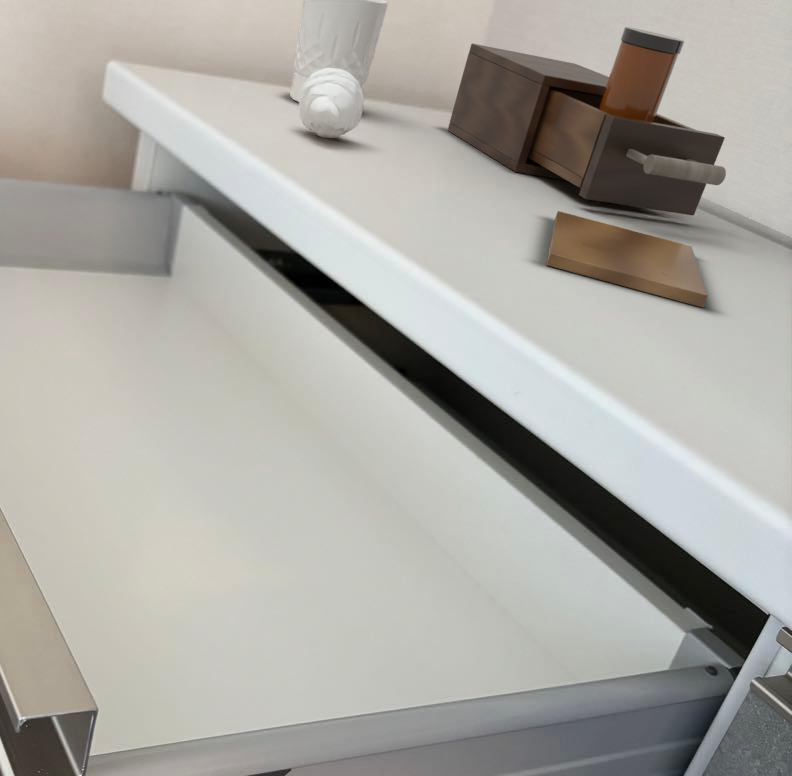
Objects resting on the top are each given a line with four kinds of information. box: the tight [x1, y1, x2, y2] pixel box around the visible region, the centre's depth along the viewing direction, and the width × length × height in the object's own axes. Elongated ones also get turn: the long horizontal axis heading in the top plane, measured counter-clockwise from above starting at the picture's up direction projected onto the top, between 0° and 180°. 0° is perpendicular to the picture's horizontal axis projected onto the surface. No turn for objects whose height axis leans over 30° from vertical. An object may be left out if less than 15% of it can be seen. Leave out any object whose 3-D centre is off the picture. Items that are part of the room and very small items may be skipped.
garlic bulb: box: [298, 68, 365, 139], centre depth 90 cm, size 6×6×5 cm
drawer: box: [528, 86, 727, 216], centre depth 91 cm, size 19×10×6 cm, turn 14°
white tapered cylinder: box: [289, 0, 389, 103], centre depth 105 cm, size 8×8×10 cm
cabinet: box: [447, 42, 609, 181], centre depth 102 cm, size 16×12×8 cm
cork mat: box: [546, 210, 709, 308], centre depth 75 cm, size 10×14×1 cm
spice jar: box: [599, 26, 685, 122], centre depth 91 cm, size 5×5×11 cm
